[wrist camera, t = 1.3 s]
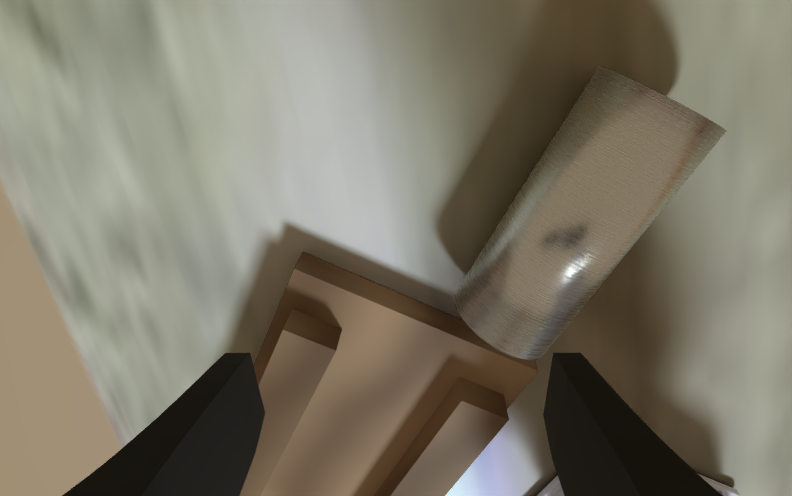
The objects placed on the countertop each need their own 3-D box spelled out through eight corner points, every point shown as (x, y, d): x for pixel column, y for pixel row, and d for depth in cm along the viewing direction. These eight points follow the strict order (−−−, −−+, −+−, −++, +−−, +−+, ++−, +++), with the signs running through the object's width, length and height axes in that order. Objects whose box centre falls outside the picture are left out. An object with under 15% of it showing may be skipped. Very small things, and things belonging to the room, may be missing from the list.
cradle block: (531, 349, 23) (545, 395, 20) (382, 538, 31) (377, 588, 28) (302, 251, 21) (284, 287, 18) (208, 478, 29) (185, 526, 26)
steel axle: (725, 134, 16) (728, 127, 12) (558, 338, 20) (525, 375, 17) (612, 77, 18) (585, 56, 14) (481, 277, 22) (435, 299, 19)
